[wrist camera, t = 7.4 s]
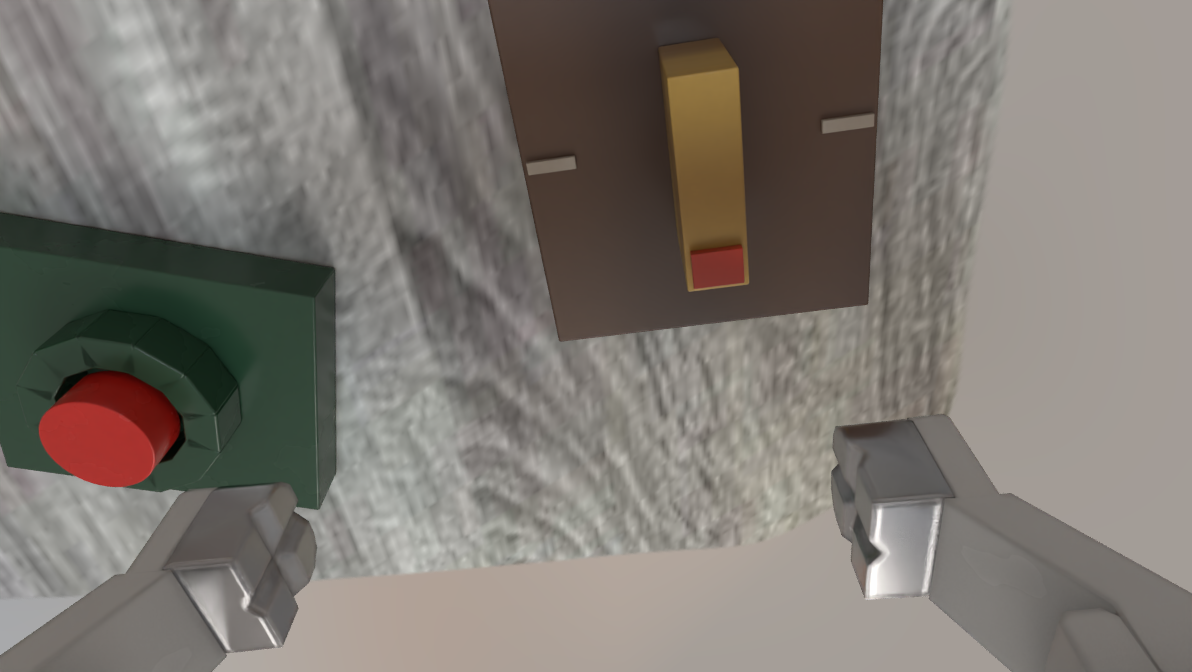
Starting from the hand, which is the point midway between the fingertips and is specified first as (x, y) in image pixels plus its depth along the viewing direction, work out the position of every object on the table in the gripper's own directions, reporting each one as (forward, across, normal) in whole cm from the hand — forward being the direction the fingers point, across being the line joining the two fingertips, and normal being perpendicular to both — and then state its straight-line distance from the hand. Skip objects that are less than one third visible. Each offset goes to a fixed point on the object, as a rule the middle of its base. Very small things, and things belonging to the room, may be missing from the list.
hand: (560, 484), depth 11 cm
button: (+12, +17, +6) cm, 21 cm away
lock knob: (+12, -3, -1) cm, 13 cm away
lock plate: (+15, -3, -1) cm, 16 cm away
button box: (+15, +17, +6) cm, 23 cm away
